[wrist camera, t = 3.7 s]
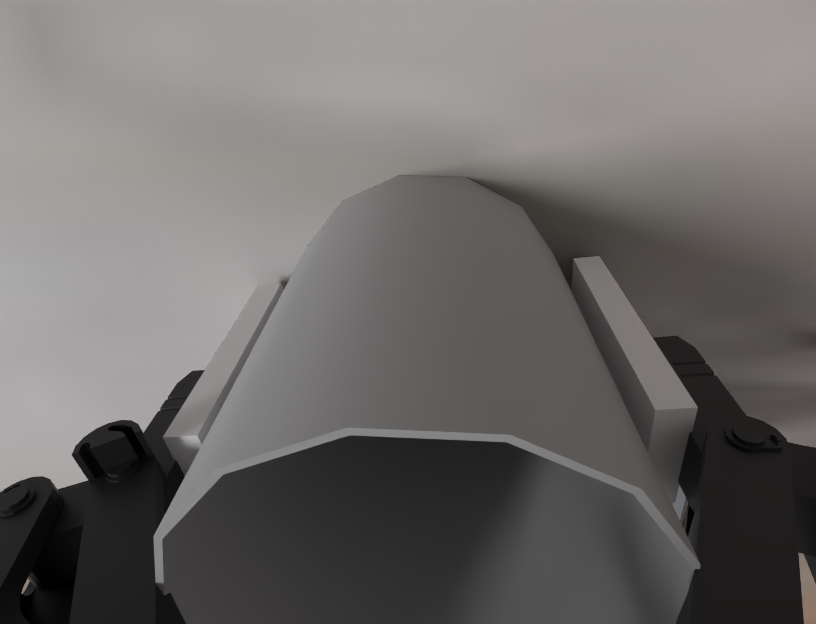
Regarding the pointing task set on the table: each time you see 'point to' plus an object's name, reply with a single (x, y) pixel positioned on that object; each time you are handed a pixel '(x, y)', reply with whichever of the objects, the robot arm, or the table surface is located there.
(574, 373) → the cup
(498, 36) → the table surface
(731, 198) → the table surface
